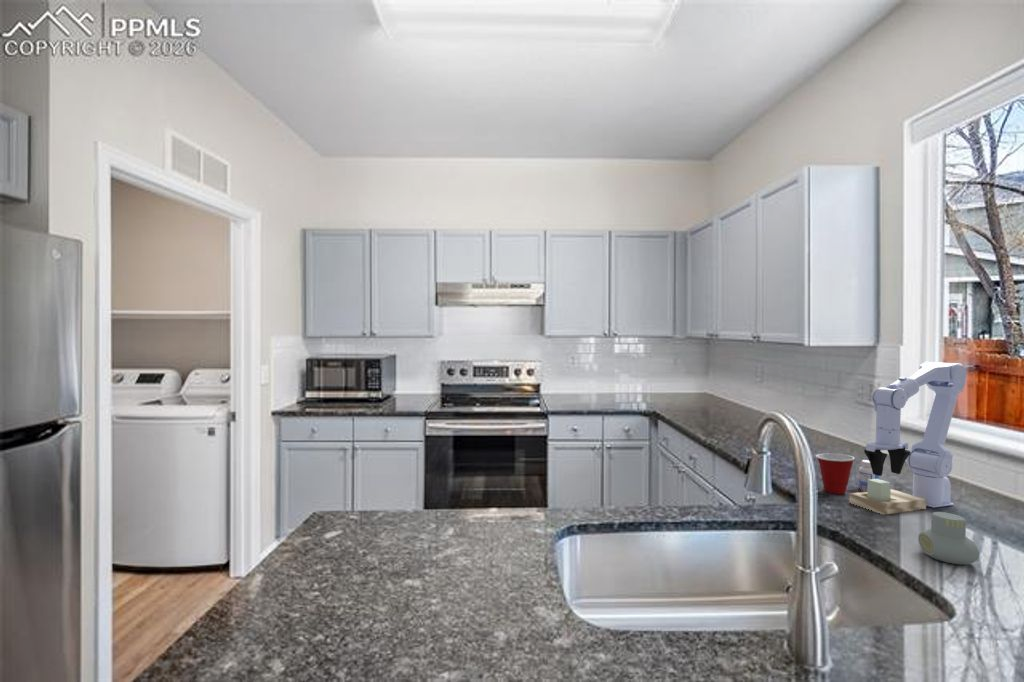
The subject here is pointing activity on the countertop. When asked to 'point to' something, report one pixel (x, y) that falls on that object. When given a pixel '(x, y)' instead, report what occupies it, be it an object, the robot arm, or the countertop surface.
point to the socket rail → (889, 502)
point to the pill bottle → (865, 474)
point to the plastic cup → (835, 471)
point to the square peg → (879, 490)
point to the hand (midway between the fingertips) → (886, 474)
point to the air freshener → (948, 540)
